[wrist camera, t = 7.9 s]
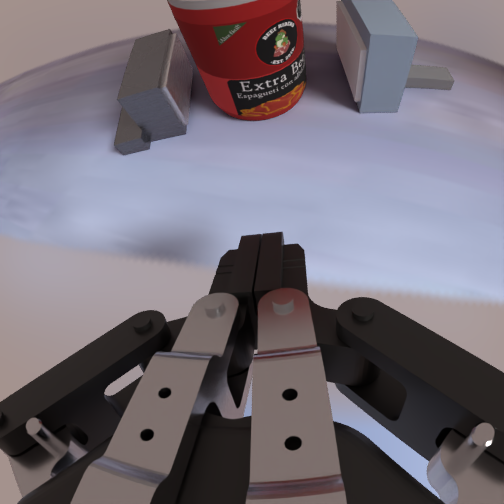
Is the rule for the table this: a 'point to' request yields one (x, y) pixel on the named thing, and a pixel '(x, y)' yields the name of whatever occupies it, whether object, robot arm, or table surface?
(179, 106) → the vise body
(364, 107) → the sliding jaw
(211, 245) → the table surface
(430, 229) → the table surface
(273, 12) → the canned food
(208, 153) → the table surface
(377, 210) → the table surface
